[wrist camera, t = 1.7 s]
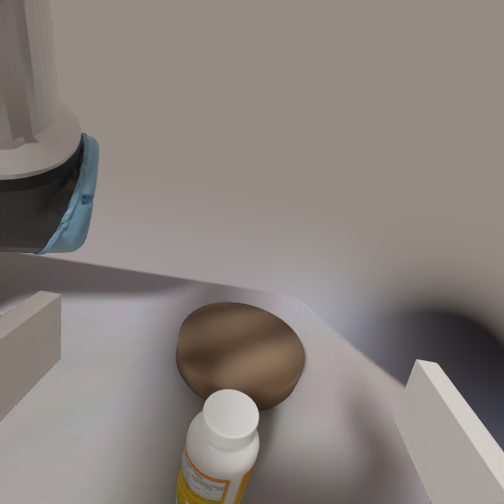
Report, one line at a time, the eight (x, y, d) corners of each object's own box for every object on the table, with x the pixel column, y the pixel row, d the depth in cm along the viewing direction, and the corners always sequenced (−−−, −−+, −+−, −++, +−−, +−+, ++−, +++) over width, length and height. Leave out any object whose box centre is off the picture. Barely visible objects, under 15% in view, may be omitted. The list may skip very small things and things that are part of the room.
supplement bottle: (226, 453, 32) (249, 375, 28) (251, 516, 28) (283, 434, 24) (167, 471, 29) (183, 388, 25) (185, 544, 25) (208, 458, 21)
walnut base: (154, 336, 43) (157, 317, 42) (248, 310, 52) (253, 293, 51) (221, 434, 33) (227, 413, 32) (322, 380, 43) (329, 362, 42)
